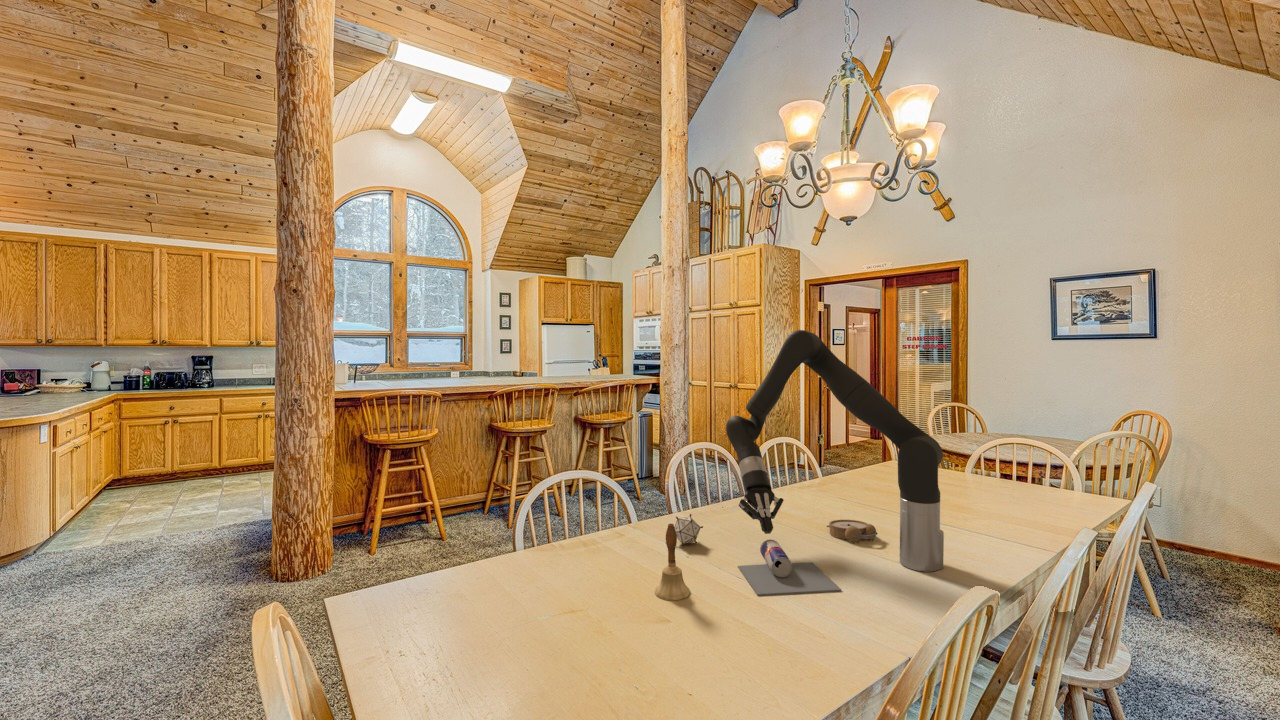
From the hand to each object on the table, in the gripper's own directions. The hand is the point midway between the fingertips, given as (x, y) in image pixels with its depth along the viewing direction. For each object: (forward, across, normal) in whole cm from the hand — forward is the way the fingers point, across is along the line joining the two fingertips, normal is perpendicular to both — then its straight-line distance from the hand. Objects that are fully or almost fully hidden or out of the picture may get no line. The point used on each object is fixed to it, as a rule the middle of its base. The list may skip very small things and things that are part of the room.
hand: (768, 532), depth 145 cm
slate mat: (+14, 0, -4) cm, 14 cm away
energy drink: (+4, 0, +2) cm, 4 cm away
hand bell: (+17, -29, -6) cm, 34 cm away
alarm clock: (-4, +31, +14) cm, 34 cm away
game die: (-4, -20, +15) cm, 25 cm away
